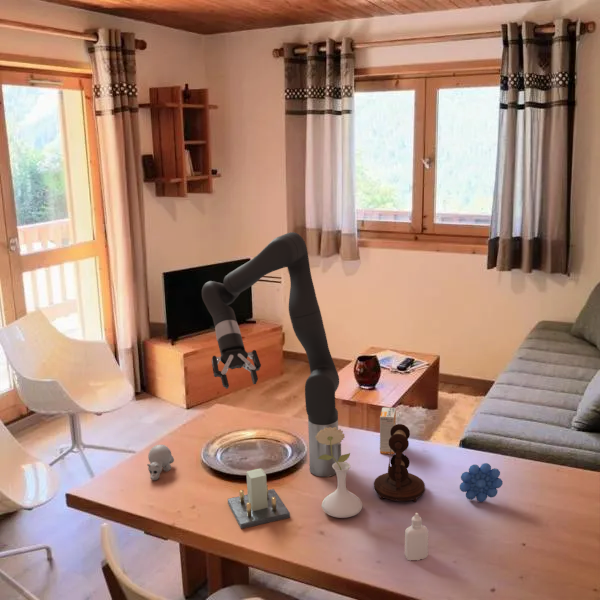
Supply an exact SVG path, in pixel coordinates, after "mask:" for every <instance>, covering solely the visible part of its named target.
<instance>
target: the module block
mask: <svg viewBox="0 0 600 600" xmlns="http://www.w3.org/2000/svg"><path fill="white" fill-rule="evenodd" d="M245 476H246V489H247V494H248V502H250V503H251V509H252V511H256V510H260V509H264V508H268V502H267V485H268V484H267V483H268V482H267V474H266V472H265V471H264V470H263V469H262V468H257V469H252V470H247V471H246V475H245Z"/></svg>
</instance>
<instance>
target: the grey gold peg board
mask: <svg viewBox="0 0 600 600" xmlns="http://www.w3.org/2000/svg"><path fill="white" fill-rule="evenodd" d="M267 502H268V508H264V509H260V510H256V511H252V509H251V503H250V502H248V493H247V494H245V491H244V489H240V490H239V496H234V497H231V498H227V504H228V507H229V509H230V511H231V513H232V514H233V516H234V518H235V520H236V522H237V524H238V527H240V529H241V530H243V529H247V528H251V527H256V526H260V525H263V524H268V523H272V522H276V521H277V522H278V521H281V520H286V519H290V518H291V514H290V511H289V509H288V507H286V505H285V503H284V502H283V500H282V499H281V498H280V495H278V493H277V491H276V490H275V489H274V488H271V489H269V485H268V484H267ZM246 527H247V528H246ZM242 528H243V529H242Z"/></svg>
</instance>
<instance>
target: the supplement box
mask: <svg viewBox="0 0 600 600" xmlns="http://www.w3.org/2000/svg"><path fill="white" fill-rule="evenodd" d="M396 411H397V408H396V407H382V408H381V411H380V416H379V454H382V455H383V454H385V455H386V454H387V455H390V446H389V439H390V437H391V434H390V431H391V428H392V427H393V426H394V425H396V423H397V412H396ZM394 454H395V453H394V451H393V450H392V449H391V455H394Z"/></svg>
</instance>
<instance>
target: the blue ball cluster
mask: <svg viewBox="0 0 600 600" xmlns="http://www.w3.org/2000/svg"><path fill="white" fill-rule="evenodd" d="M500 475H501V471H500V469H498V468H492V466H491V464H489V463H487V462H484V463H482V464H481V465H480V466H479V464H471V465H470V466H469V468H468V471H464V472H463V473H461V475H460V479H461V481H462V482H461V483H460V485H459V490H460V491H461V492H463V493H465V497H466V499H467V500H475V499H476V501H478V502H479V503H483V502H485V501H486V500H487V498H495V497H497V495H498V489H500V488H501V487H502V486H503V480H502V479H501V478H499V477H500Z"/></svg>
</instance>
